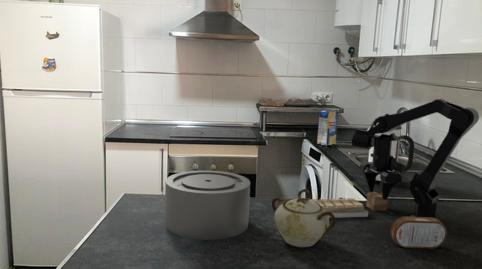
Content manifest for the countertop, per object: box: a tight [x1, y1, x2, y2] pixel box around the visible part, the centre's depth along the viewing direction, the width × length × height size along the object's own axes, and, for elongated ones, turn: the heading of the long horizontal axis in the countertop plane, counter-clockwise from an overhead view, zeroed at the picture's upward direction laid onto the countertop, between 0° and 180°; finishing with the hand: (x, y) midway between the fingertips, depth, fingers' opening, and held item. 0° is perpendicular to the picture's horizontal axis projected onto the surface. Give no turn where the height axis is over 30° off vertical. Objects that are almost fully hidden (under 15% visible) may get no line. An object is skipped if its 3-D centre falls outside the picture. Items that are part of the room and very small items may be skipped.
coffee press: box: [366, 113, 415, 186], centre depth 183 cm, size 17×16×30 cm
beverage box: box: [316, 110, 339, 146], centre depth 266 cm, size 7×11×22 cm, turn 136°
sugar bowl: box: [271, 188, 337, 248], centre depth 116 cm, size 20×15×15 cm
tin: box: [390, 216, 448, 250], centre depth 116 cm, size 15×3×8 cm, turn 92°
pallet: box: [310, 198, 365, 211], centre depth 141 cm, size 7×17×2 cm, turn 101°
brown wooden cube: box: [366, 191, 389, 211], centre depth 148 cm, size 5×5×5 cm
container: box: [164, 170, 251, 241], centre depth 126 cm, size 25×25×13 cm
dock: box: [328, 209, 369, 219], centre depth 141 cm, size 9×19×2 cm, turn 101°
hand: (377, 195), depth 148 cm, fingers open, 9 cm apart
